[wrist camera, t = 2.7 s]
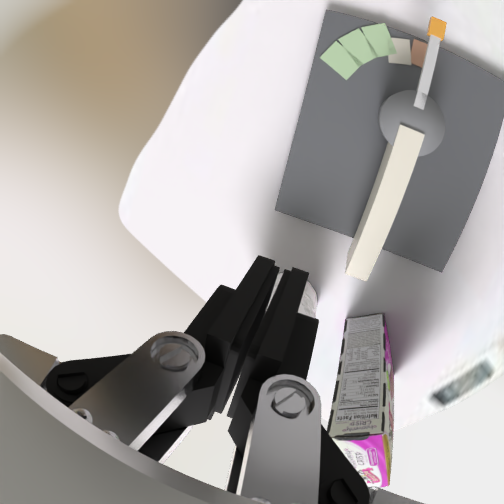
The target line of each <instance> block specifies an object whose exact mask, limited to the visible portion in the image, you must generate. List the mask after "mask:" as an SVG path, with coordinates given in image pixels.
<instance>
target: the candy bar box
mask: <svg viewBox="0 0 504 504" xmlns="http://www.w3.org/2000/svg"><path fill="white" fill-rule="evenodd" d="M393 427H394V374H393V365H392V358H391V351H390V344H389V338H388V332H387V327H386V321H385V316H384V313H378V314H372V315H368V316H362V317H354V318H348V319H345V326H344V333H343V340H342V347H341V355H340V361H339V368H338V373H337V379H336V385H335V391H334V396H333V402H332V408H331V414H330V418H329V422H328V428H327V433H328V434H329V435H330V437H331V438H332V439H333V441H334V442H335V443H336V444H337V446H338V447H339V448H340V450H341V451H342V452H343V454H344V455H345V456H346V458H347V459H348V460H349V461H350V463H351V464H352V465H353V467H354V468H355V469H356V470H357V472H358V473H359V474H360V475H361V477H362V478H363V479H364V481H365V482H366V484H367V486H368V487H369V488H372V487H377V488H379V487H385V486H389V484H390V473H391V462H392V447H393Z"/></svg>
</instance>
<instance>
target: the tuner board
mask: <svg viewBox="0 0 504 504" xmlns="http://www.w3.org/2000/svg"><path fill="white" fill-rule="evenodd" d="M427 45H428V42H427V41H425V40H422V39H420V38H417V37H415V36H412V35H410V34H407V33H404V32H402V31H399V30H396V29H393V28H390V27H387V26H386V24H385V23H382V24H378V23H375V22H372V21H368V20H365V19H362V18H358V17H354V16H351V15H347V14H343V13H339V12H335V11H330V10H326V12H325V16H324V20H323V25H322V29H321V33H320V37H319V41H318V45H317V49H316V53H315V57H314V61H313V64H312V68H311V72H310V76H309V80H308V84H307V88H306V92H305V96H304V100H303V104H302V108H301V112H300V115H299V119H298V123H297V127H296V131H295V135H294V139H293V142H292V146H291V150H290V154H289V158H288V161H287V165H286V169H285V173H284V177H283V180H282V184H281V188H280V192H279V196H278V199H277V203H276V207H275V210H276V211H279V212H282V213H285V214H288V215H290V216H293V217H296V218H299V219H302V220H305V221H308V222H311V223H313V224H316V225H319V226H322V227H325V228H327V229H330V230H333V231H336V232H339V233H341V234H344V235H347V236H349V237H352V238H354V236H355V234H356V231H357V229H358V226H359V224H360V221H361V218H362V216H363V213H364V210H365V208H366V205H367V202H368V199H369V197H370V194H371V191H372V188H373V185H374V183H375V180H376V177H377V174H378V171H379V168H380V165H381V162H382V159H383V156H384V153H385V150H386V147H387V144H388V141H387V140H386V139H385V138H384V136H383V135H382V133H381V131H380V128H379V125H378V113H379V109H380V107H381V105H382V103H383V102H384V101H385V100H386V99H387V98H388V97H390V96H392V95H394V94H396V93H398V92H401V91H405V90H415V91H416V90H417V87H418V83H419V79H420V75H421V71H422V67H423V63H424V58H425V54H426V49H427ZM428 96H429V97H431V98H432V99H433V100H434V101H435V102H436V103H437V104H438V106H439V107H440V109H441V111H442V113H443V116H444V120H445V133H444V137H443V140H442V142H441V143H440V145H439V146H438V147H437V148H436V149H435V150H434V151H433V152H431V153H429V154H427V155H424V156H418V157H417V160H416V163H415V166H414V169H413V172H412V174H411V177H410V180H409V183H408V185H407V188H406V191H405V193H404V196H403V199H402V201H401V204H400V206H399V209H398V211H397V214H396V216H395V219H394V221H393V224H392V226H391V228H390V231H389V233H388V235H387V238H386V240H385V242H384V245H383V247H382V249H384V250H387V251H389V252H392V253H394V254H397V255H399V256H402V257H404V258H407V259H409V260H412V261H415V262H417V263H419V264H422V265H424V266H427V267H429V268H432V269H434V270H437V271H439V272H442V271H443V269H444V267H445V265H446V263H447V261H448V259H449V258H450V256H451V254H452V252H453V250H454V248H455V246H456V243H457V241H458V239H459V237H460V235H461V233H462V231H463V229H464V226H465V224H466V222H467V220H468V218H469V215H470V213H471V211H472V208H473V206H474V203H475V201H476V199H477V196H478V194H479V191H480V189H481V186H482V183H483V181H484V178H485V175H486V173H487V170H488V167H489V164H490V161H491V158H492V155H493V152H494V149H495V146H496V143H497V139H498V136H499V133H500V129H501V125H502V122H503V118H504V81H503V80H501V79H500V78H498V77H496V76H495V75H493V74H491V73H489V72H488V71H486V70H484V69H482V68H481V67H479V66H477V65H475V64H473V63H471V62H470V61H468V60H466V59H464V58H462V57H460V56H458V55H456V54H454V53H452V52H449V51H447V50H445V49H443V48H441V47H439V50H438V55H437V59H436V63H435V68H434V72H433V76H432V80H431V84H430V88H429V92H428Z"/></svg>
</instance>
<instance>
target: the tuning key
mask: <svg viewBox="0 0 504 504" xmlns="http://www.w3.org/2000/svg"><path fill="white" fill-rule="evenodd" d="M445 29H446V22H444V21H442V20H440V19H437V18H435V17H433V16H432V17H431V18H430V22H429V27H428V32H427V35H428V36H429V40H428V45H427V49H426V54H425V58H424V63H423V67H422V71H421V75H420V79H419V83H418V87H417V90H416V91H415V90H405V91H401V92H398V93H396V94H394V95H392V96H390V97H388V98H387V99H386V100H385V101H384V102H383V103H382V105H381V107H380V109H379V113H378V125H379V128H380V131H381V133H382V135H383V136H384V138H385V139H386V140H387V141H388V144H387V147H386V150H385V153H384V156H383V159H382V162H381V165H380V168H379V171H378V174H377V177H376V180H375V183H374V185H373V188H372V191H371V194H370V197H369V199H368V202H367V205H366V208H365V210H364V213H363V216H362V218H361V221H360V224H359V226H358V229H357V231H356V234H355V236H354V239H353V241H352V244H351V246H350V249H349V251H348V255H347V263H346V271H345V274H347V275H350V276H352V277H355V278H358V279H360V280H363V281H366V282H367V280H368V278H369V275H370V273H371V271H372V269H373V267H374V265H375V263H376V260H377V258H378V256H379V254H380V252H381V249H382V247H383V245H384V242H385V240H386V238H387V235H388V233H389V231H390V228H391V226H392V224H393V221H394V219H395V216H396V214H397V211H398V209H399V206H400V204H401V201H402V199H403V196H404V193H405V191H406V188H407V185H408V183H409V180H410V177H411V174H412V172H413V169H414V166H415V163H416V160H417V157H418V156H424V155H427V154H429V153H431V152H433V151H434V150H435V149H436V148H437V147H438V146H439V145H440V143H441V142H442V140H443V137H444V133H445V120H444V116H443V113H442V111H441V109H440V107H439V106H438V104H437V103H436V102H435V101H434V100H433V99H432V98H431V97H429V96H428V92H429V88H430V84H431V80H432V76H433V72H434V68H435V63H436V59H437V55H438V50H439V45H440V41H442V40H443V39H444V34H445Z"/></svg>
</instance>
